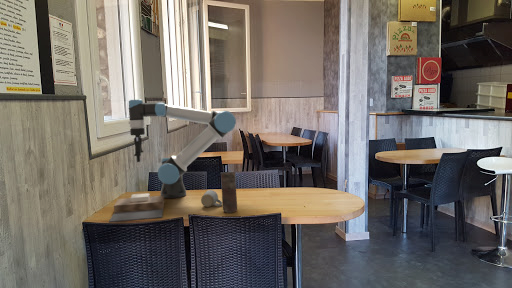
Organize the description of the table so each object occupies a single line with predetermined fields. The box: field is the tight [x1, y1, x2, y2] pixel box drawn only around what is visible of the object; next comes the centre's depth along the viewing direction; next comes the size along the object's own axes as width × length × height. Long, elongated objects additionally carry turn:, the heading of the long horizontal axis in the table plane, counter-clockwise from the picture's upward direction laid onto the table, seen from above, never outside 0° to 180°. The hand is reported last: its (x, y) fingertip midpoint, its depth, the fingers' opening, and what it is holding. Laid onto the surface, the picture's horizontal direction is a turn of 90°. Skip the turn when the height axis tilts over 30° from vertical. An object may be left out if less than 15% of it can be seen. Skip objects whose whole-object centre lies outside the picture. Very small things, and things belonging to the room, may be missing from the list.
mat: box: [108, 208, 164, 223], centre depth 178 cm, size 24×14×1 cm, turn 102°
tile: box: [129, 193, 151, 202], centre depth 194 cm, size 9×8×2 cm
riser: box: [113, 195, 165, 214], centre depth 192 cm, size 24×14×4 cm, turn 102°
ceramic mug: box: [200, 189, 223, 208], centre depth 193 cm, size 11×8×8 cm
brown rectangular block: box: [220, 171, 238, 214], centre depth 181 cm, size 8×7×20 cm
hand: (139, 165), depth 201 cm, fingers open, 13 cm apart
